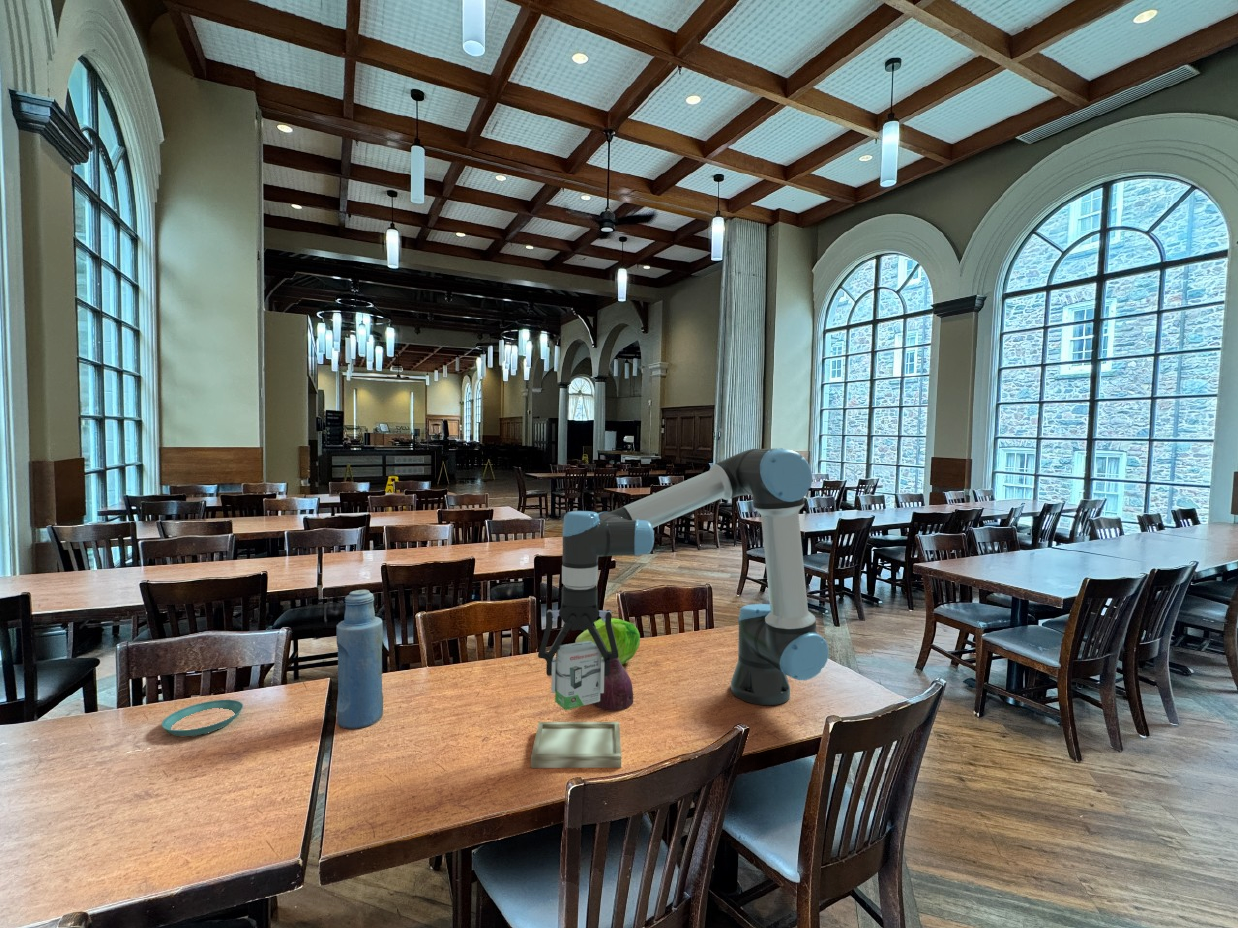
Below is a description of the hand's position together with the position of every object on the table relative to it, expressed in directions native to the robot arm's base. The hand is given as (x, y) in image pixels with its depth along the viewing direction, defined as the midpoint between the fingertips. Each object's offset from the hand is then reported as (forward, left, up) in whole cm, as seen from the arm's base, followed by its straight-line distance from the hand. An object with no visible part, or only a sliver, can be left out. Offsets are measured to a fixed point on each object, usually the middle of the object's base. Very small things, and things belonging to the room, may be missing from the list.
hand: (577, 690), depth 117 cm
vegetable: (-8, -22, -13) cm, 27 cm away
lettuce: (-7, -47, -13) cm, 49 cm away
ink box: (0, 0, -3) cm, 3 cm away
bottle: (+51, -13, -13) cm, 54 cm away
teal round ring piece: (+85, -11, -13) cm, 87 cm away
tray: (0, 0, -13) cm, 13 cm away
